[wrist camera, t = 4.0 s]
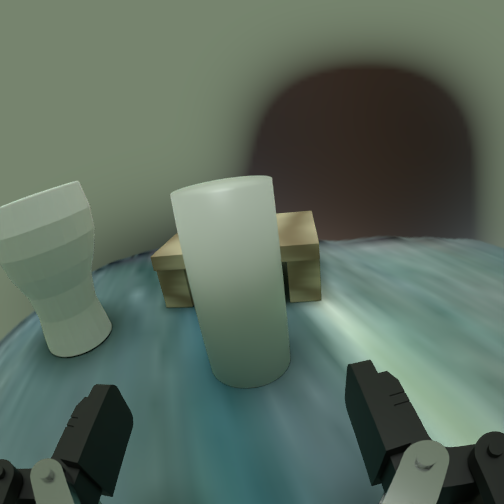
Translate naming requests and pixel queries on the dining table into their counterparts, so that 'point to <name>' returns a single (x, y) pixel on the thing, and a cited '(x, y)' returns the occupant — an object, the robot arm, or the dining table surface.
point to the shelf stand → (292, 251)
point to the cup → (55, 265)
